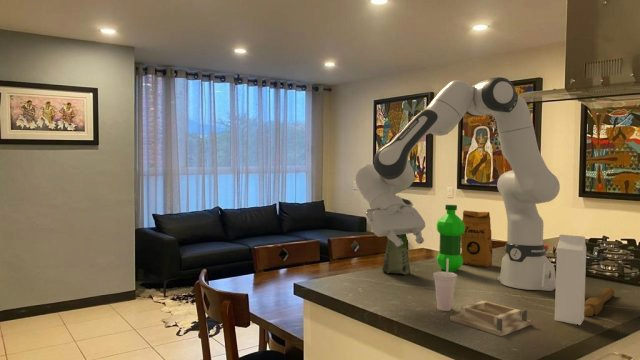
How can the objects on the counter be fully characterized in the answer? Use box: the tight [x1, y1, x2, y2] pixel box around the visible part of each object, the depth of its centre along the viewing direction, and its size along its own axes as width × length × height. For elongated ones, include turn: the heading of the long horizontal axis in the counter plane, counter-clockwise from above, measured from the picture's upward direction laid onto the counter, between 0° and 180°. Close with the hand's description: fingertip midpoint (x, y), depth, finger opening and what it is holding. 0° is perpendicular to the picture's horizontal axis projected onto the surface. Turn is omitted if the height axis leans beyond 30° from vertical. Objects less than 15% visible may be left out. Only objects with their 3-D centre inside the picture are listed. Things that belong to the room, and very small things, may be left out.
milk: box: [554, 234, 587, 326], centre depth 121 cm, size 6×6×22 cm
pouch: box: [381, 234, 411, 276], centre depth 173 cm, size 11×12×25 cm
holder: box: [449, 300, 532, 337], centre depth 118 cm, size 14×14×4 cm
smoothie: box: [432, 258, 458, 312], centre depth 129 cm, size 6×6×14 cm
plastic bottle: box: [436, 204, 465, 272], centre depth 180 cm, size 10×10×25 cm
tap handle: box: [584, 287, 615, 317], centre depth 136 cm, size 3×3×30 cm
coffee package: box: [461, 210, 493, 268], centre depth 191 cm, size 10×12×22 cm
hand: (411, 243), depth 138 cm, fingers open, 8 cm apart
